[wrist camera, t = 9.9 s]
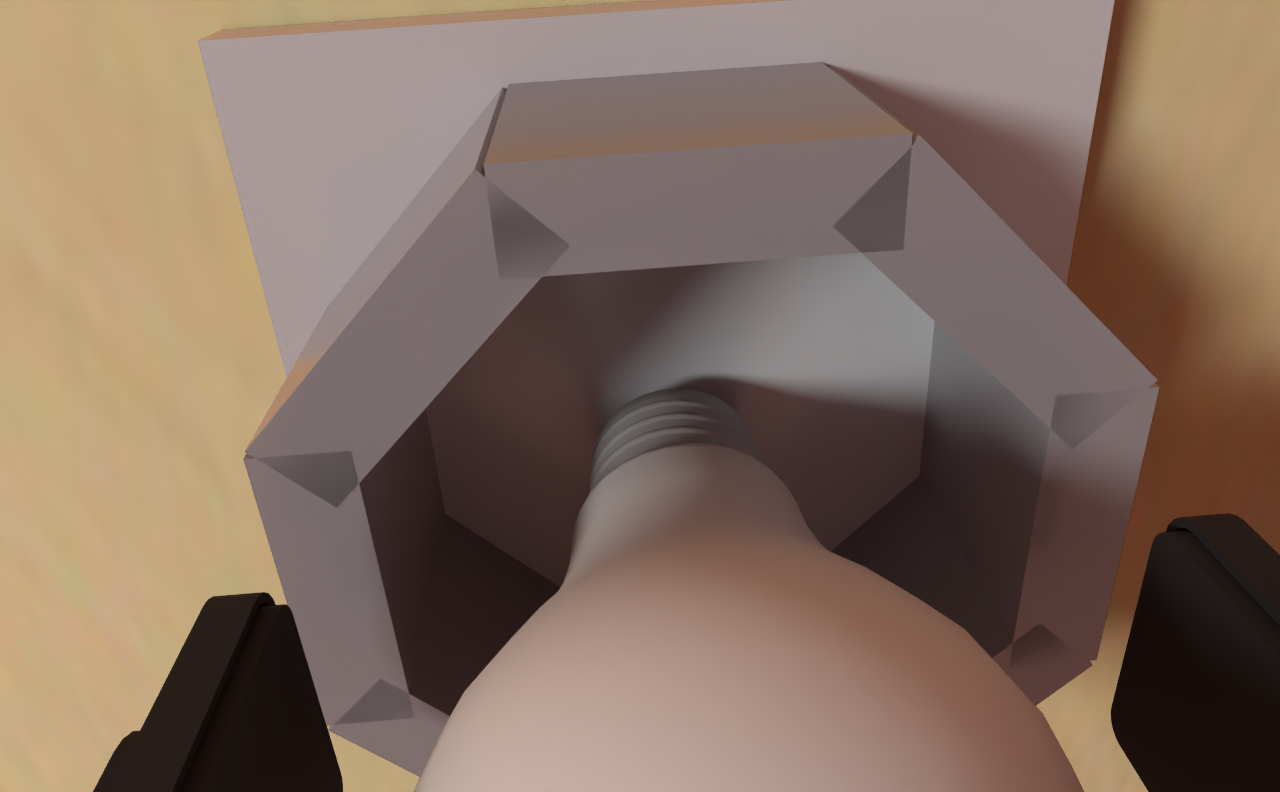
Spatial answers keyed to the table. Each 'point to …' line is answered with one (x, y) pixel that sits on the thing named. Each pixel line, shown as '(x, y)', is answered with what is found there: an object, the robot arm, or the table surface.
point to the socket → (675, 309)
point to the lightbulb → (731, 648)
